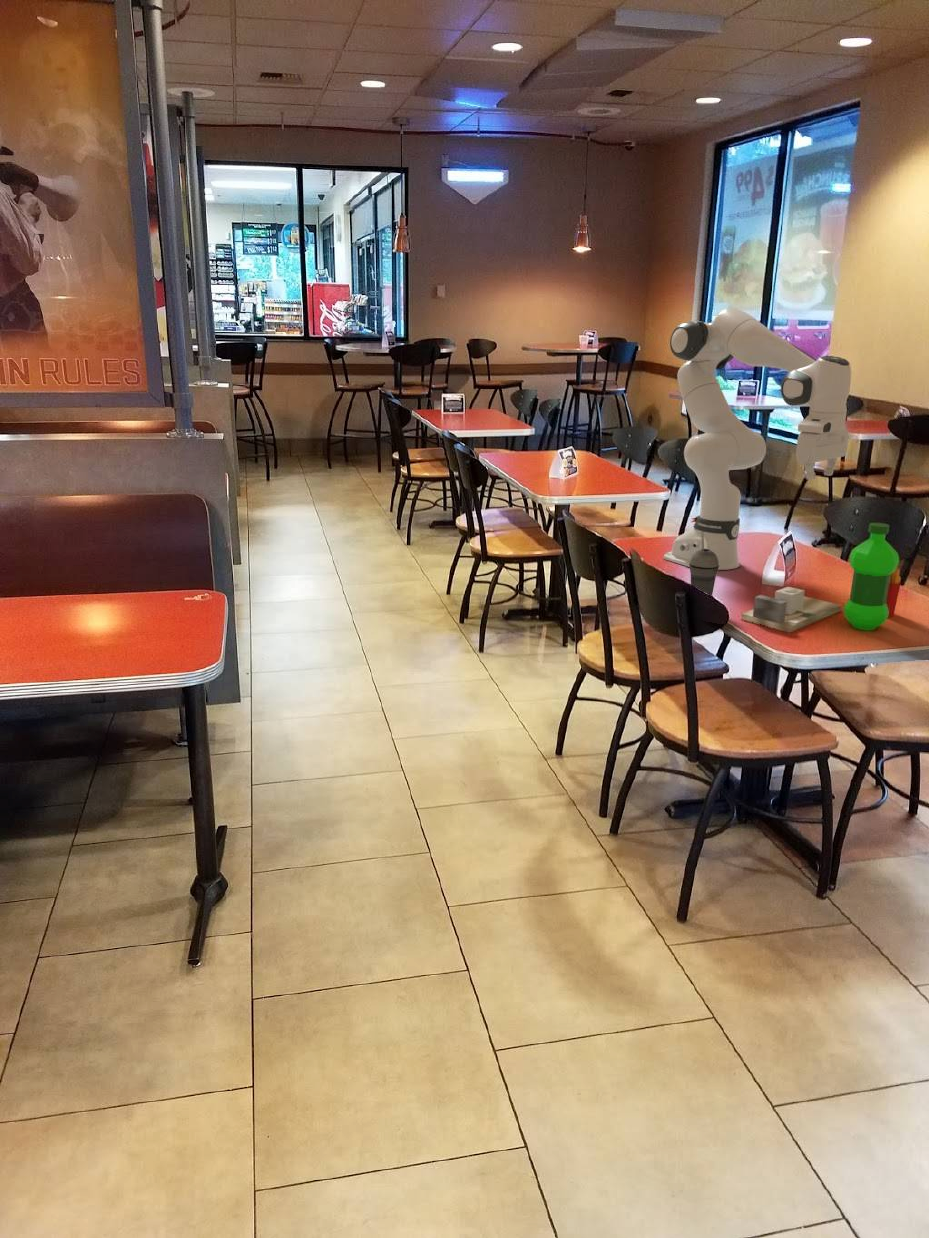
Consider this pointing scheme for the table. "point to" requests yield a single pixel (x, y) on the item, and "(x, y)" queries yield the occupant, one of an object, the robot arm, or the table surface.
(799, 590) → the block
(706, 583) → the beverage cup
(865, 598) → the plastic bottle
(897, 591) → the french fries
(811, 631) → the table surface
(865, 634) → the table surface
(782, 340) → the robot arm
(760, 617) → the frame
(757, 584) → the table surface
